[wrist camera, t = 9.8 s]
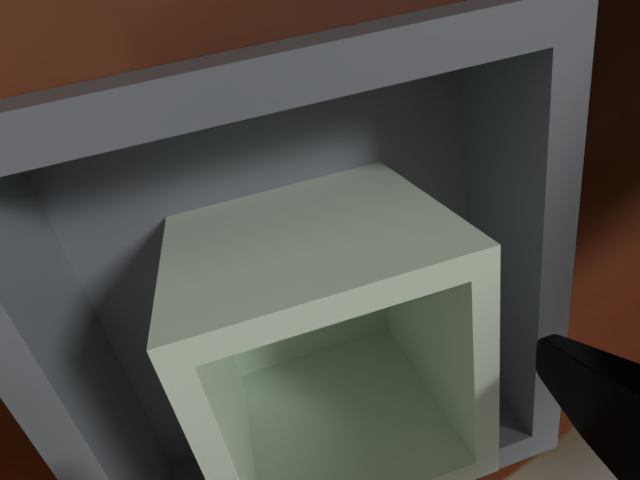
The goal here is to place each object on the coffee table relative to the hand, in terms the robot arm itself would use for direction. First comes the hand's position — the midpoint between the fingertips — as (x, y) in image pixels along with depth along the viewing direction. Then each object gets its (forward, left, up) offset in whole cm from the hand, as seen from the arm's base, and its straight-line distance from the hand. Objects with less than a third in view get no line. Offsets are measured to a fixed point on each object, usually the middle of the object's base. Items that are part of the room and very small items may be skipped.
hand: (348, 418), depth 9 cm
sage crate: (0, 0, -6) cm, 6 cm away
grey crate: (0, 0, -7) cm, 7 cm away
